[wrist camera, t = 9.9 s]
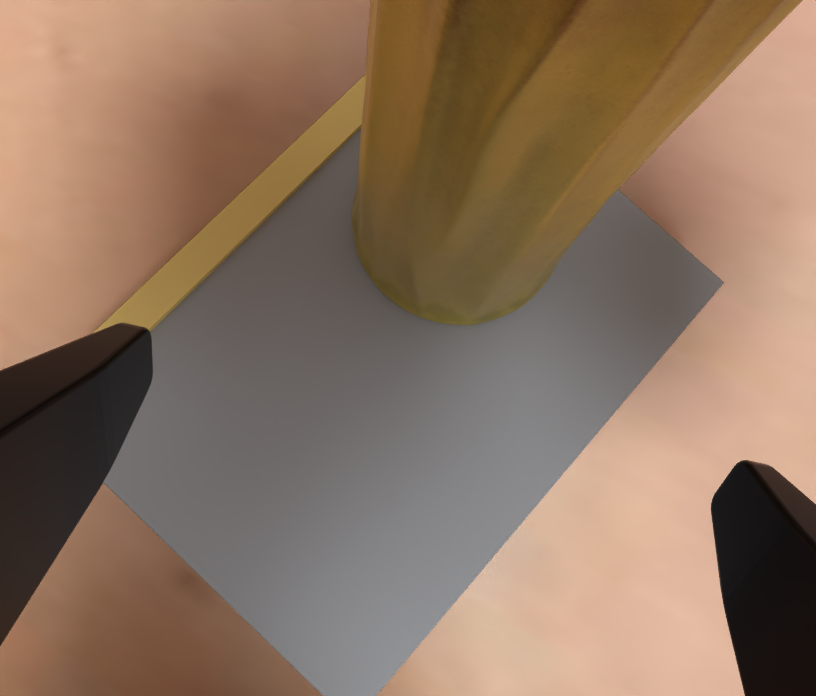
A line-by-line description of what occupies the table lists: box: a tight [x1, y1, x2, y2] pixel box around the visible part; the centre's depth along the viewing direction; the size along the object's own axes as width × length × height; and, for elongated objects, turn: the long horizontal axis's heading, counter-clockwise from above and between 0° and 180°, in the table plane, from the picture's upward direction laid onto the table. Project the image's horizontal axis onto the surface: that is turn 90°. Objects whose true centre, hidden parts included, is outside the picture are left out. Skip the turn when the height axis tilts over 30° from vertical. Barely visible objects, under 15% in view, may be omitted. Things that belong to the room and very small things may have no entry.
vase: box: [351, 0, 803, 325], centre depth 11 cm, size 6×6×14 cm
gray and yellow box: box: [93, 74, 724, 696], centre depth 19 cm, size 16×12×3 cm
